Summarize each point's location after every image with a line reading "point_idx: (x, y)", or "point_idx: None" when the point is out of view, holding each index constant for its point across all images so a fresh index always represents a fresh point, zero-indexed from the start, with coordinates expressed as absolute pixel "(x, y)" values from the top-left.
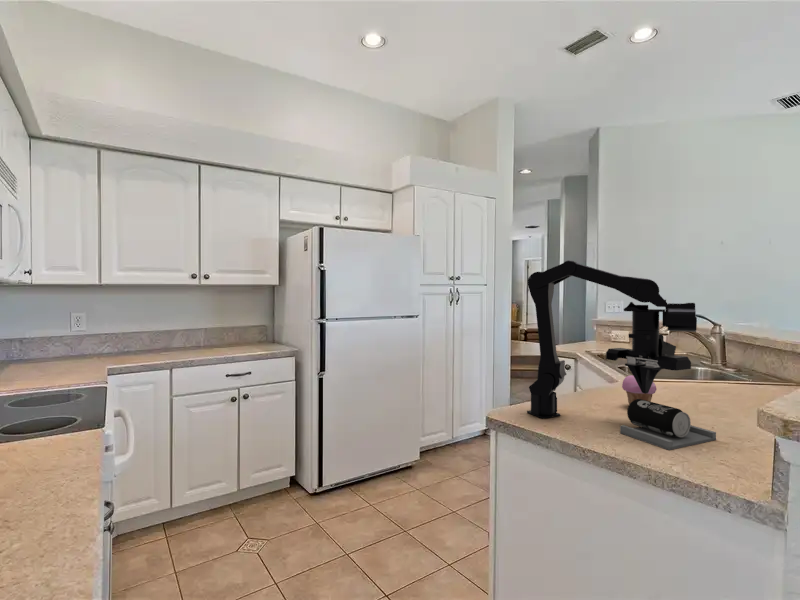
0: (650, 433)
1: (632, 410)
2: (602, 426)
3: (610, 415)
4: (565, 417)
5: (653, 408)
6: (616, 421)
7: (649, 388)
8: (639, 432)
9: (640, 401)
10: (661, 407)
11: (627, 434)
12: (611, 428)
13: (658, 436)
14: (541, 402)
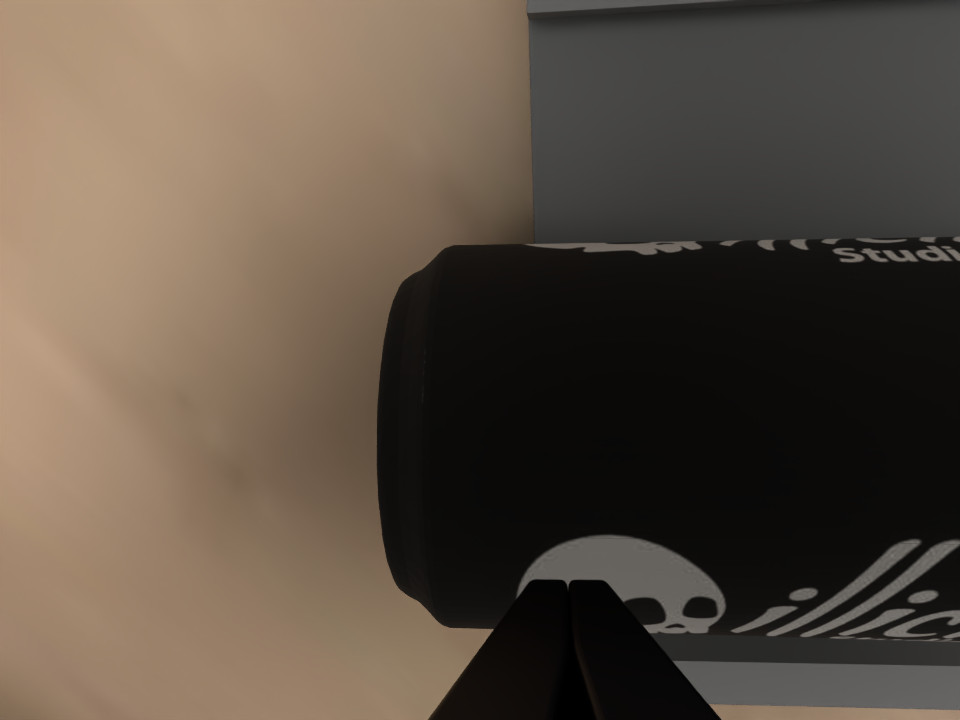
0: None
1: None
2: (333, 627)
3: (17, 256)
4: (14, 701)
5: (824, 631)
6: (234, 385)
7: (649, 651)
8: (766, 702)
9: None
10: (949, 610)
11: None
12: (408, 604)
13: (947, 667)
14: None
